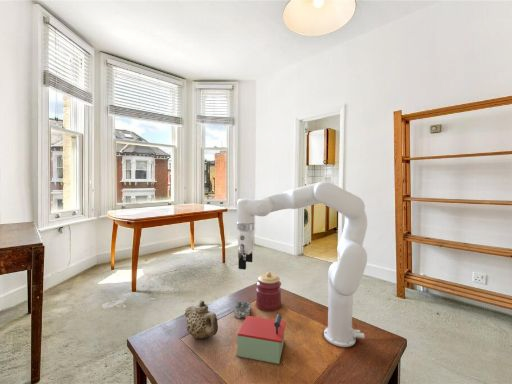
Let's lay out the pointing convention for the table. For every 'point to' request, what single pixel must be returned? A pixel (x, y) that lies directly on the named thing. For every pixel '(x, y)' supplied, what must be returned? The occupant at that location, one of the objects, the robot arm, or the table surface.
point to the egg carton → (242, 309)
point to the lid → (263, 328)
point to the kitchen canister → (268, 292)
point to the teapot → (201, 321)
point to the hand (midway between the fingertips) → (245, 265)
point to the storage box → (260, 349)
